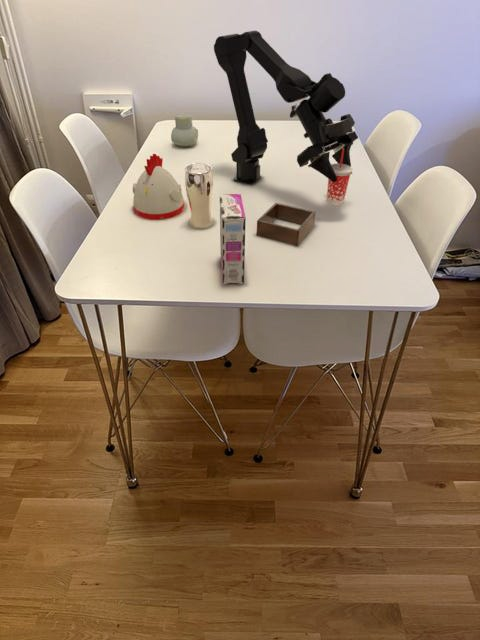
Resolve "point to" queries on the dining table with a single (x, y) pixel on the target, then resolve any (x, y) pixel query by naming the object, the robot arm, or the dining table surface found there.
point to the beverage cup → (338, 182)
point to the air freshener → (184, 130)
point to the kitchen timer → (157, 192)
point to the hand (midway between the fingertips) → (343, 178)
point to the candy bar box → (232, 238)
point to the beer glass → (199, 194)
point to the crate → (282, 232)
